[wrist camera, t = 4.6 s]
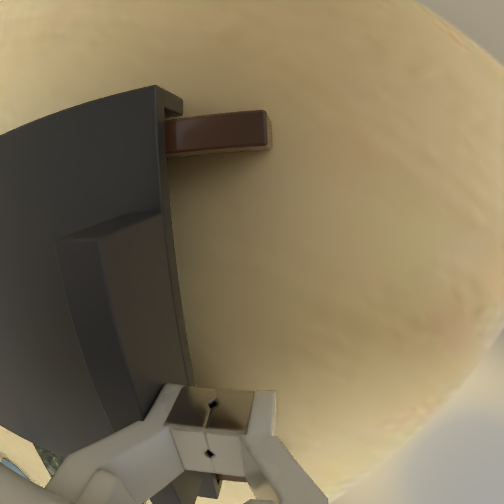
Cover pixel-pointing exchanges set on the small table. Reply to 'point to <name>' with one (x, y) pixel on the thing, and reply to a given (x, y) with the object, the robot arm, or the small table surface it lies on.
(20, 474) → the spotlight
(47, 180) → the lid
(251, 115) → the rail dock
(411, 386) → the small table surface
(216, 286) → the small table surface
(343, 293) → the small table surface
